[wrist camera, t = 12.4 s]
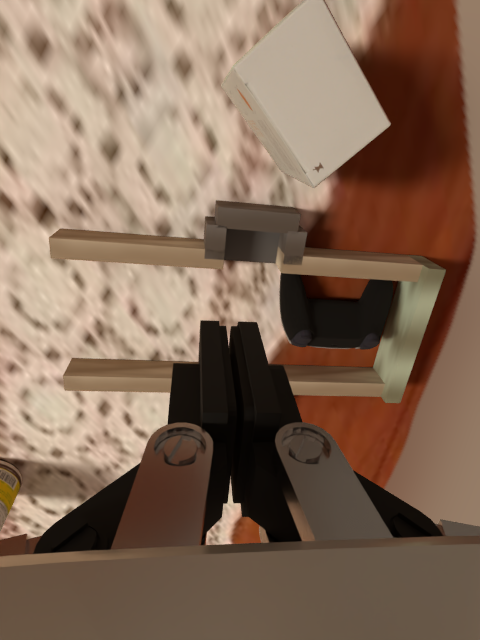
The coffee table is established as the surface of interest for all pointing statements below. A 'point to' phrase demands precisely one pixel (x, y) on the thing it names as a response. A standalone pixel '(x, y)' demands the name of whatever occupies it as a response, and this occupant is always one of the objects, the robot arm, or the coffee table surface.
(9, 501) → the supplement bottle
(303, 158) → the small box
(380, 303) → the gaming controller
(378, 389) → the channel
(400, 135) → the coffee table surface
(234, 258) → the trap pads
